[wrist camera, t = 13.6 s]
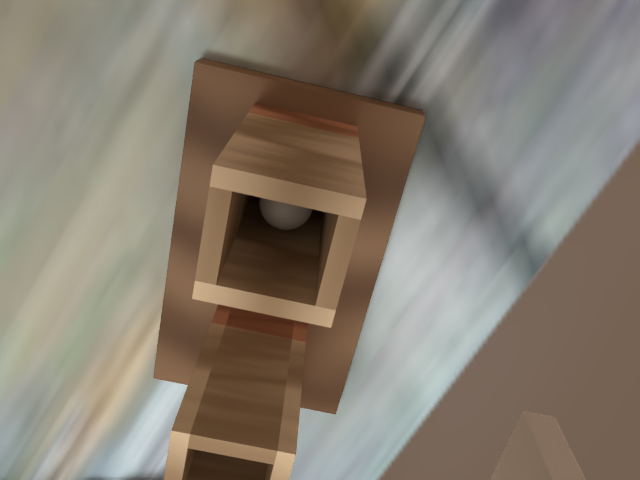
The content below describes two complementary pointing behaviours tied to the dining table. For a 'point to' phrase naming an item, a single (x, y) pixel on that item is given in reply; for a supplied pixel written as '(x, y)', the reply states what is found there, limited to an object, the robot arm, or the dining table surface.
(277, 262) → the sleeve
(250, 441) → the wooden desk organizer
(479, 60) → the dining table surface
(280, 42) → the dining table surface
